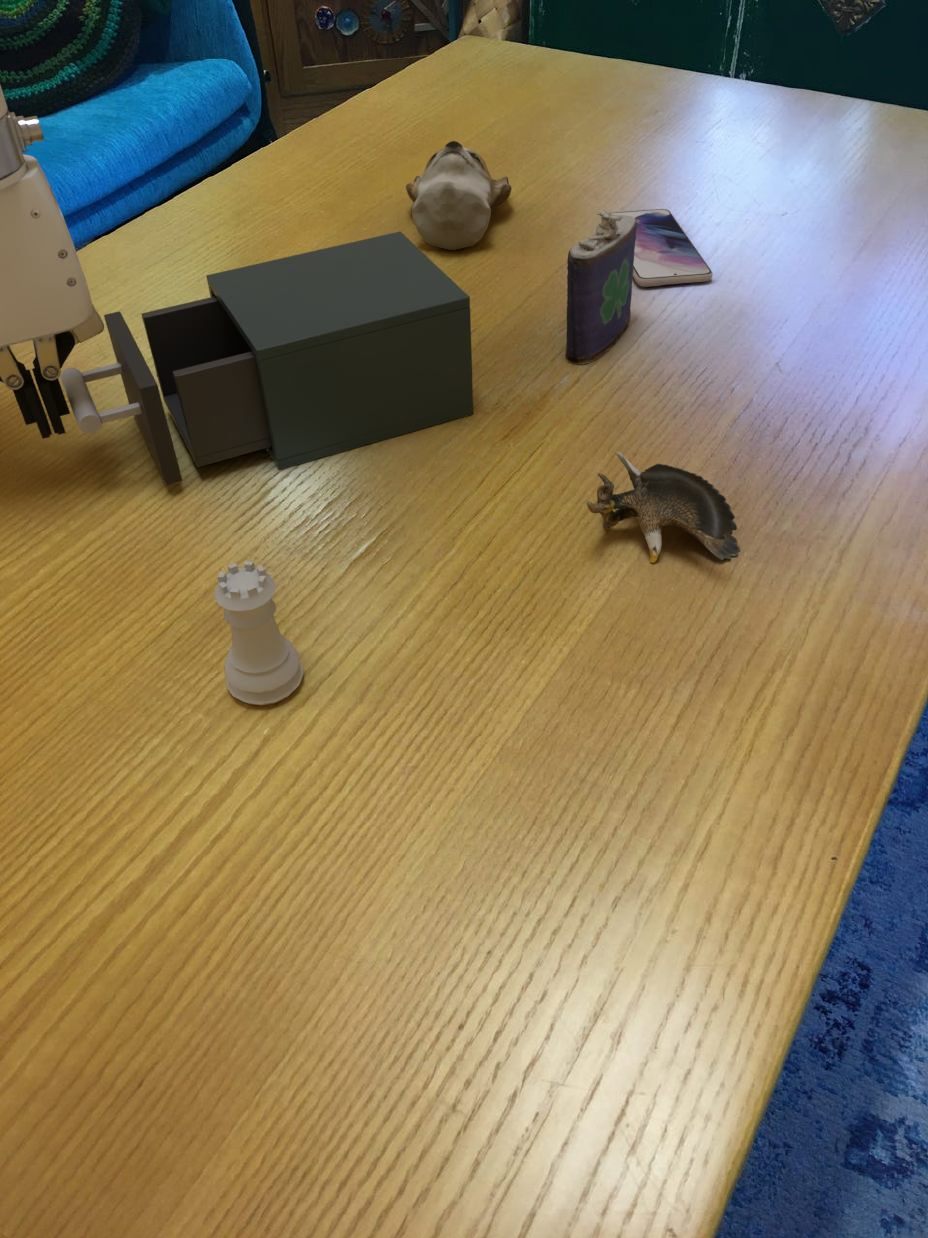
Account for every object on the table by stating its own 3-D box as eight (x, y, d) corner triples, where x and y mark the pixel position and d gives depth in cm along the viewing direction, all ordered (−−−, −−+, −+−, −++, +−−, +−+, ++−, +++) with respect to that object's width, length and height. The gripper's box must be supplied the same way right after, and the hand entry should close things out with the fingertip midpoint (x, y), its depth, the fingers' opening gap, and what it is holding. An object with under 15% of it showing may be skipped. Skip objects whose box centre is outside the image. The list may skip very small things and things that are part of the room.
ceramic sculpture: (387, 164, 95) (407, 117, 106) (393, 259, 100) (412, 205, 112) (506, 165, 94) (514, 117, 106) (505, 261, 100) (513, 206, 111)
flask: (608, 312, 92) (617, 188, 85) (639, 320, 91) (651, 195, 84) (557, 360, 87) (562, 231, 79) (590, 369, 85) (597, 239, 78)
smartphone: (668, 207, 106) (715, 273, 95) (667, 215, 106) (713, 282, 95) (599, 212, 105) (638, 280, 94) (598, 220, 106) (637, 288, 95)
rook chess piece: (218, 667, 62) (190, 563, 57) (292, 644, 63) (271, 540, 58) (237, 719, 59) (210, 615, 54) (314, 694, 60) (294, 589, 55)
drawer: (104, 503, 73) (72, 405, 67) (74, 422, 80) (43, 328, 75) (359, 431, 78) (348, 335, 73) (308, 361, 86) (295, 269, 81)
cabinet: (278, 470, 77) (256, 350, 70) (229, 388, 85) (205, 274, 78) (473, 414, 81) (470, 296, 75) (408, 342, 90) (400, 230, 83)
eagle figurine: (586, 569, 66) (736, 568, 63) (583, 452, 65) (735, 446, 62) (610, 556, 73) (745, 555, 70) (607, 451, 72) (745, 445, 69)
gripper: (71, 111, 66) (146, 374, 78) (-190, 159, 61) (-67, 429, 74) (94, 148, 60) (170, 424, 73) (-189, 203, 56) (-57, 485, 69)
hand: (51, 426), depth 73 cm, fingers closed
